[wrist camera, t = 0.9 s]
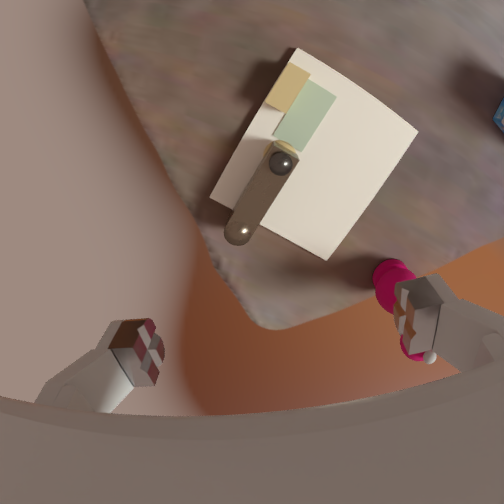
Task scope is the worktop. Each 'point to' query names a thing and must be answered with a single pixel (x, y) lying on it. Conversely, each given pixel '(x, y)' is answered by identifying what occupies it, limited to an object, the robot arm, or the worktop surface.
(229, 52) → the worktop surface
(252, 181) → the bar
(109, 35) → the worktop surface
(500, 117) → the ink box
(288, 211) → the latch board
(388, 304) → the pepper mill
